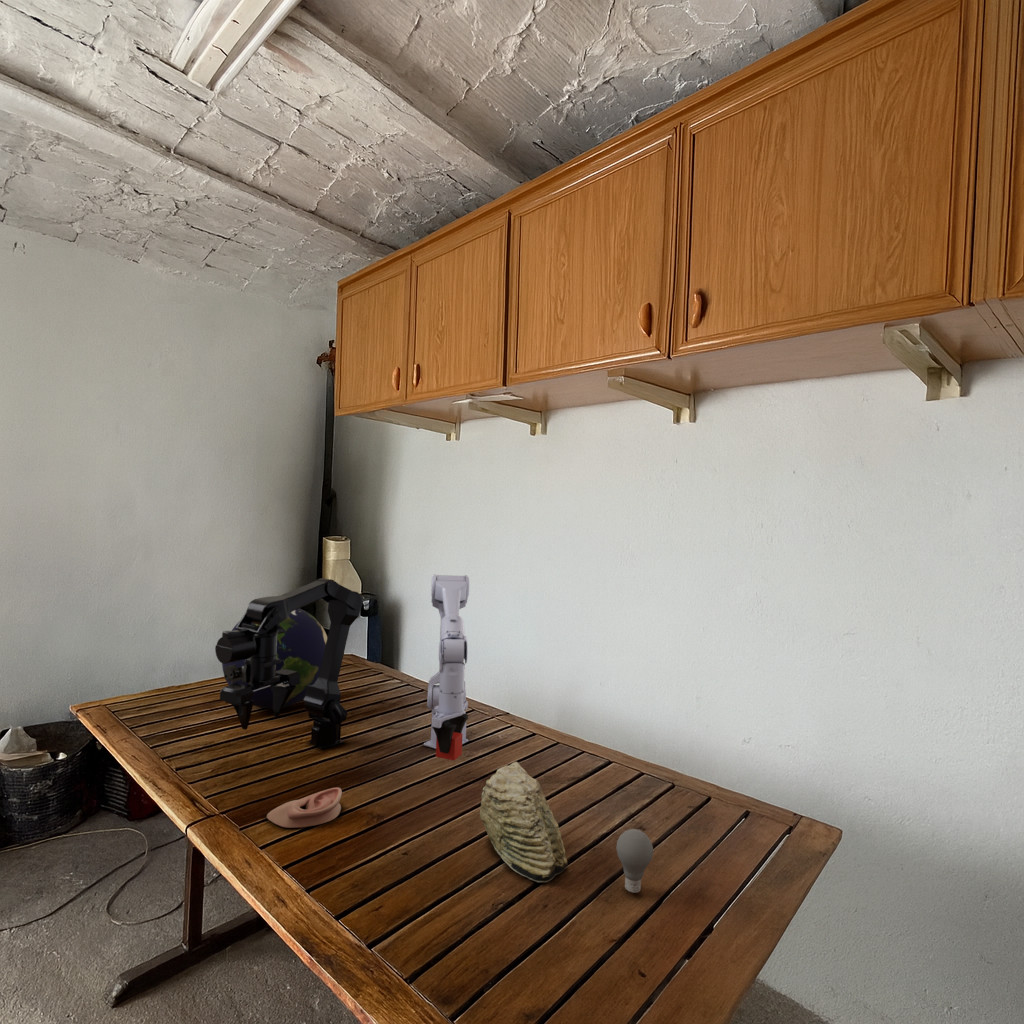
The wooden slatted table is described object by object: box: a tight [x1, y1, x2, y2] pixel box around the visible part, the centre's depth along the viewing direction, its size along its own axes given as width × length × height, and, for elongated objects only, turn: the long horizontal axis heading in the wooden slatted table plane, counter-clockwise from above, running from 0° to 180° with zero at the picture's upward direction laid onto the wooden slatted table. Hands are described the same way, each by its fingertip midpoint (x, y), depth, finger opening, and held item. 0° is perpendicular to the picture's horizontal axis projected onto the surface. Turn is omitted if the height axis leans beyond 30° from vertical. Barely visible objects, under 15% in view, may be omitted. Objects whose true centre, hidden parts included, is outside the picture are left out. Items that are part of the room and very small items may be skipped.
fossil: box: [479, 761, 569, 883], centre depth 114 cm, size 9×18×15 cm, turn 46°
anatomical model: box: [266, 786, 343, 829], centre depth 126 cm, size 13×4×12 cm
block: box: [435, 732, 463, 761], centre depth 147 cm, size 4×5×5 cm
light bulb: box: [615, 828, 654, 894], centre depth 106 cm, size 6×6×10 cm
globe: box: [221, 608, 328, 710], centre depth 188 cm, size 30×30×30 cm
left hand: (260, 722), depth 145 cm, fingers open, 9 cm apart
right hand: (449, 748), depth 147 cm, fingers closed on block, 4 cm apart
